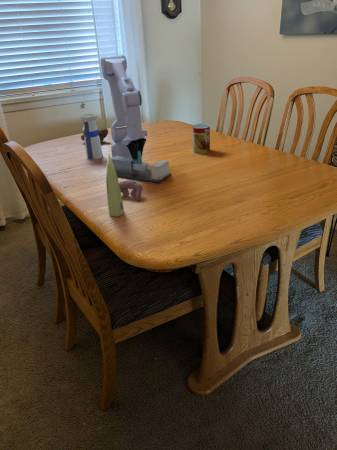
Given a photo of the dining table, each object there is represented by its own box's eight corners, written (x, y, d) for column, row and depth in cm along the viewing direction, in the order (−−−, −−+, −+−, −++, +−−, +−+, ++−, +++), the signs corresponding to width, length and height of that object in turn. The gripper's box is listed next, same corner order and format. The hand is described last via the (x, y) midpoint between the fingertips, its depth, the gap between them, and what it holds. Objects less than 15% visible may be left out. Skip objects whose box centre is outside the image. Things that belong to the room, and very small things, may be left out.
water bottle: (81, 159, 177) (72, 104, 165) (91, 153, 184) (83, 100, 172) (96, 160, 174) (88, 104, 163) (106, 154, 181) (99, 101, 169)
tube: (104, 214, 125) (96, 157, 115) (116, 208, 128) (108, 152, 119) (116, 218, 121) (108, 160, 112) (127, 212, 125) (121, 155, 115)
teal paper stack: (113, 166, 158) (111, 148, 154) (117, 164, 160) (115, 146, 156) (144, 171, 150) (143, 153, 147) (148, 169, 152) (146, 151, 149)
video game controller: (143, 201, 136) (145, 182, 135) (138, 201, 131) (140, 180, 131) (118, 199, 139) (120, 180, 138) (112, 198, 134) (114, 178, 134)
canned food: (210, 153, 175) (210, 127, 169) (193, 154, 175) (193, 128, 169) (209, 148, 182) (209, 123, 176) (192, 149, 182) (192, 124, 176)
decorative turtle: (109, 144, 196) (106, 129, 192) (80, 148, 197) (77, 133, 193) (111, 138, 204) (108, 124, 200) (84, 141, 206) (81, 127, 201)
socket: (151, 178, 148) (150, 165, 145) (160, 173, 153) (159, 160, 150) (160, 180, 146) (159, 166, 143) (169, 174, 151) (168, 161, 148)
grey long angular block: (107, 175, 157) (105, 160, 154) (121, 167, 164) (119, 153, 161) (158, 184, 145) (157, 168, 142) (171, 175, 152) (170, 160, 149)
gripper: (131, 129, 137) (135, 164, 144) (152, 120, 148) (155, 153, 155) (116, 127, 141) (120, 162, 147) (138, 119, 151) (141, 151, 158)
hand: (137, 157), depth 151 cm, fingers closed on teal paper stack, 3 cm apart
